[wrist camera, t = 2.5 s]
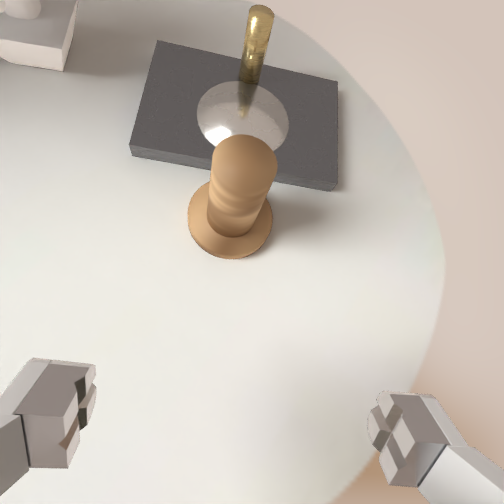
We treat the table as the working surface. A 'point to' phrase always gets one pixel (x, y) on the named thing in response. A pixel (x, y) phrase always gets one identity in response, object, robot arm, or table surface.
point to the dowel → (255, 43)
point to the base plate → (237, 114)
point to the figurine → (37, 32)
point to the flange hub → (234, 199)
